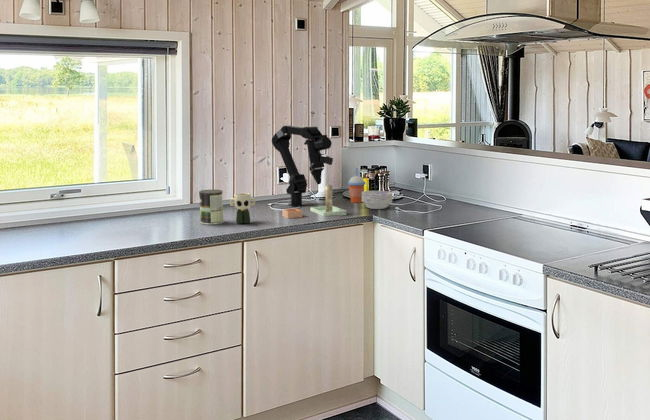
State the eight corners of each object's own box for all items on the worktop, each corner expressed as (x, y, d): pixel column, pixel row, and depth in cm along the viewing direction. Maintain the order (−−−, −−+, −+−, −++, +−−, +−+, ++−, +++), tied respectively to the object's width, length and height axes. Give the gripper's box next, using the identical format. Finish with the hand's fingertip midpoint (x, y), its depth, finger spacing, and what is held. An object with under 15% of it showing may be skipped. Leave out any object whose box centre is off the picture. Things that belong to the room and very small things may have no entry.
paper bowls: (392, 205, 320) (392, 189, 319) (392, 210, 306) (392, 194, 304) (362, 205, 322) (362, 189, 321) (361, 210, 307) (361, 194, 306)
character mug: (230, 225, 275) (229, 195, 272) (230, 222, 281) (229, 193, 279) (256, 224, 276) (255, 194, 274) (255, 221, 283) (254, 192, 281)
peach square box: (282, 217, 292) (282, 209, 291) (296, 215, 295) (296, 208, 294) (287, 219, 286) (287, 212, 285) (302, 218, 289) (302, 210, 288)
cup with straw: (365, 200, 335) (365, 166, 332) (365, 203, 326) (365, 168, 323) (348, 200, 336) (348, 166, 333) (347, 203, 327) (347, 168, 324)
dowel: (324, 212, 298) (324, 185, 296) (327, 211, 301) (327, 184, 298) (330, 213, 297) (330, 186, 294) (333, 212, 299) (333, 185, 297)
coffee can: (199, 225, 276) (197, 193, 273) (201, 220, 286) (200, 189, 283) (222, 224, 277) (221, 192, 274) (224, 219, 287) (223, 189, 284)
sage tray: (310, 211, 304) (310, 207, 304) (332, 209, 309) (332, 205, 309) (323, 217, 290) (323, 212, 290) (346, 215, 295) (346, 210, 295)
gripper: (332, 147, 299) (337, 180, 299) (328, 151, 317) (333, 182, 317) (308, 151, 298) (314, 184, 298) (307, 154, 316) (312, 185, 317)
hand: (319, 183), depth 307 cm, fingers open, 9 cm apart
